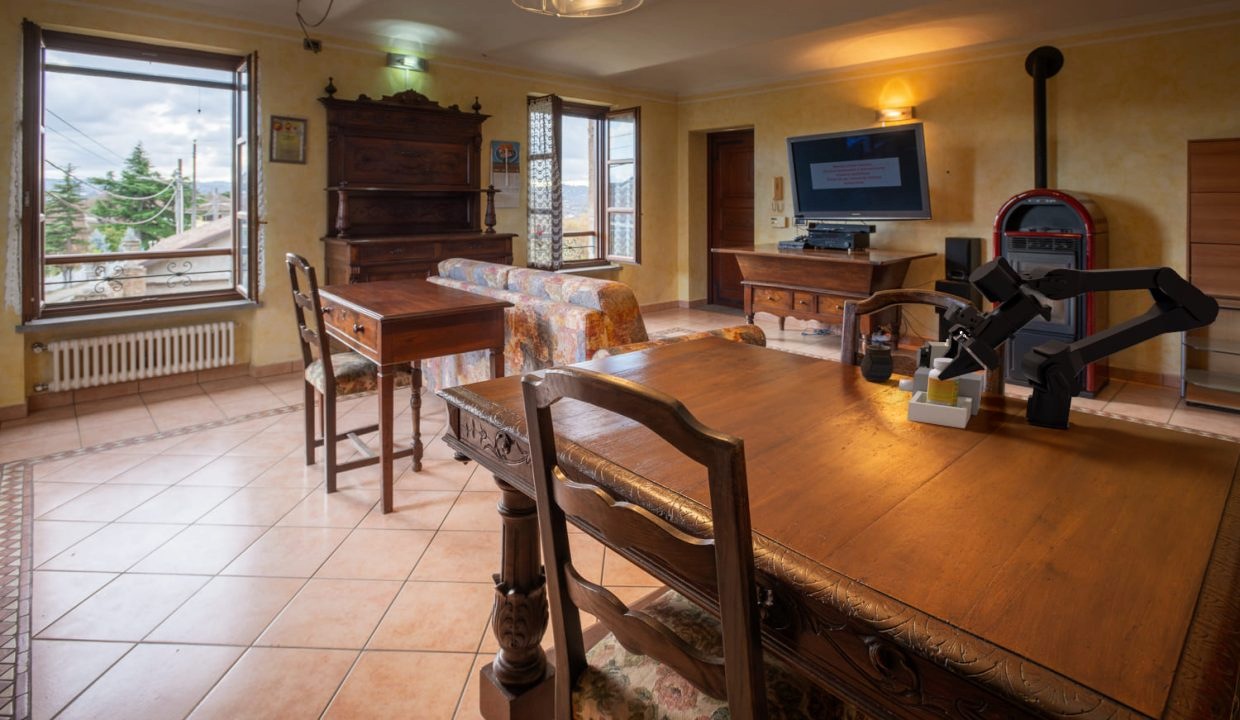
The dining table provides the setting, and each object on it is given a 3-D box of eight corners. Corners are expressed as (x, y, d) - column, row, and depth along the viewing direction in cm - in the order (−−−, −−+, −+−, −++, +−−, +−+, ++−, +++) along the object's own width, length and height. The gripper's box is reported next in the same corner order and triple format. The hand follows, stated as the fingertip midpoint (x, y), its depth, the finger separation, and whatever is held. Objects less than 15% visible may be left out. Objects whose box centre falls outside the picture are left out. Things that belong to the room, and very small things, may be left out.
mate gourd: (887, 376, 169) (890, 336, 167) (897, 384, 161) (900, 341, 159) (856, 376, 169) (859, 335, 167) (865, 384, 162) (868, 341, 160)
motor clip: (979, 408, 142) (983, 374, 141) (970, 429, 128) (974, 392, 127) (901, 397, 150) (904, 365, 148) (885, 416, 136) (888, 381, 135)
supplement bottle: (957, 414, 132) (962, 363, 130) (926, 411, 134) (930, 361, 132) (955, 406, 137) (960, 358, 135) (925, 403, 139) (929, 356, 137)
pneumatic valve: (975, 397, 150) (981, 342, 148) (917, 394, 153) (922, 340, 150) (968, 391, 156) (974, 337, 153) (912, 387, 158) (917, 335, 156)
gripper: (964, 283, 138) (900, 336, 143) (987, 294, 121) (913, 354, 126) (1004, 324, 138) (938, 375, 143) (1033, 341, 120) (957, 399, 125)
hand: (936, 375), depth 134 cm, fingers closed on supplement bottle, 5 cm apart
